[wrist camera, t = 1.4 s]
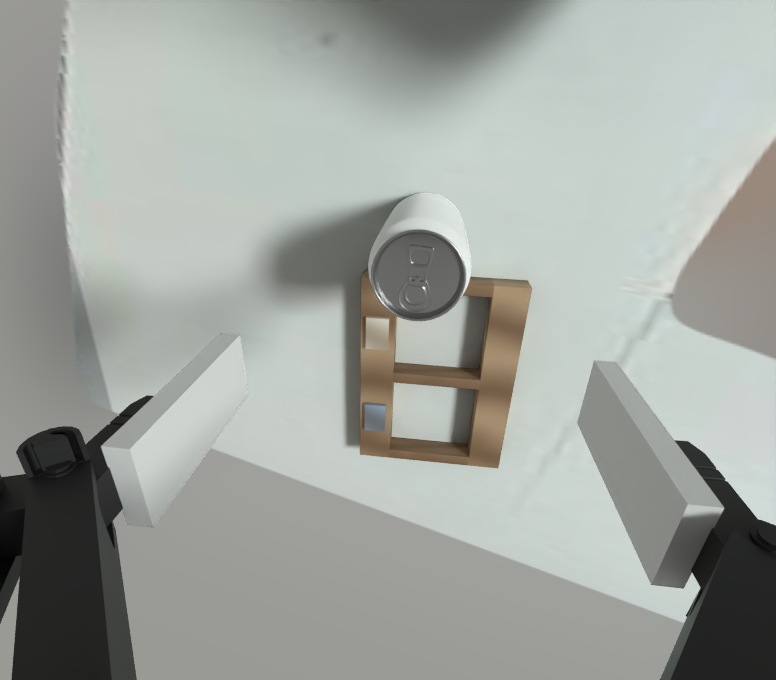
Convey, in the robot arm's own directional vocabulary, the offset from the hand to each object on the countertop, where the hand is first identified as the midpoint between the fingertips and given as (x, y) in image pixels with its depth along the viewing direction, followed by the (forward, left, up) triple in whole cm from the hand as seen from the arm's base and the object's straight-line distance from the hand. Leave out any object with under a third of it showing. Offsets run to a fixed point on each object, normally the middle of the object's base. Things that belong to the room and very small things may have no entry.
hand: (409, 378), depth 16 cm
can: (-1, 0, -23) cm, 23 cm away
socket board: (+12, +2, -22) cm, 26 cm away
